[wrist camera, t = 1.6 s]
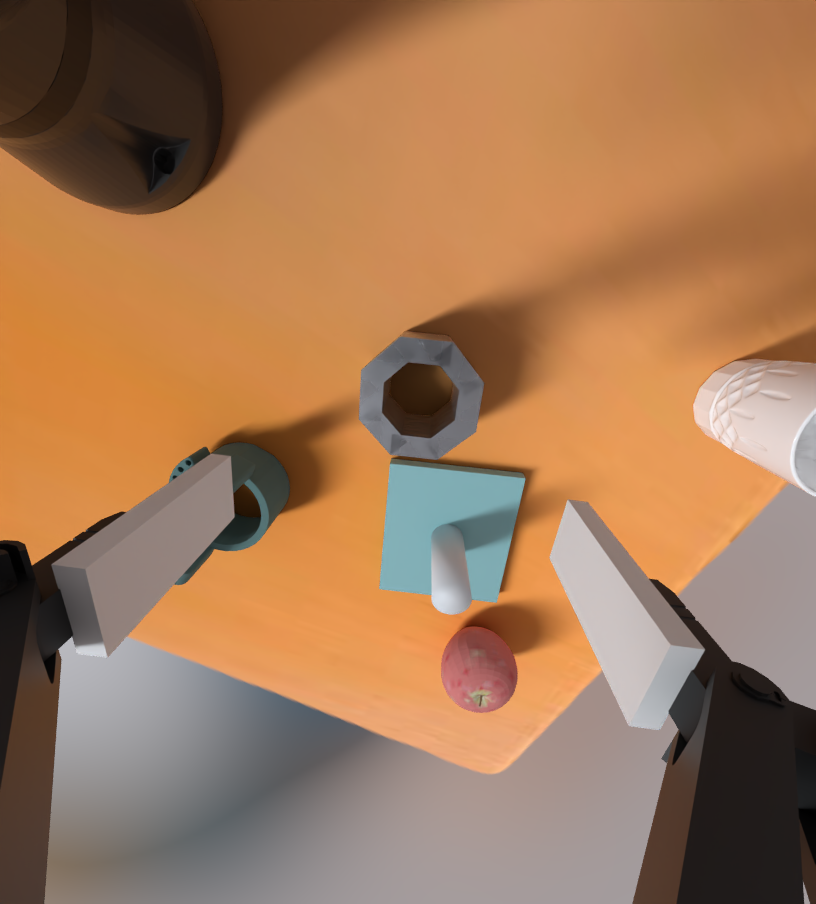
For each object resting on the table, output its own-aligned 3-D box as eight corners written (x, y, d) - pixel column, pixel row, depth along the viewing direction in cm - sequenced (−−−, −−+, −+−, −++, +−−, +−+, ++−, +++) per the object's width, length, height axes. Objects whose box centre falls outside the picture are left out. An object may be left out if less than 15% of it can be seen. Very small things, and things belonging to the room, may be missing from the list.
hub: (375, 327, 30) (363, 332, 25) (479, 338, 30) (490, 345, 25) (369, 426, 33) (357, 451, 28) (463, 437, 33) (470, 463, 28)
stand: (391, 458, 34) (378, 509, 26) (522, 472, 34) (553, 528, 26) (380, 581, 39) (367, 657, 31) (494, 594, 39) (512, 674, 31)
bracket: (276, 433, 34) (225, 473, 26) (300, 520, 37) (261, 581, 29) (185, 443, 35) (107, 485, 27) (215, 528, 38) (155, 589, 30)
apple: (428, 647, 43) (428, 719, 35) (458, 601, 40) (465, 669, 33) (486, 669, 43) (498, 744, 36) (519, 626, 41) (540, 697, 33)
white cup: (665, 428, 32) (761, 479, 23) (721, 337, 29) (857, 351, 20) (748, 456, 33) (875, 517, 23) (810, 369, 30) (984, 397, 20)
